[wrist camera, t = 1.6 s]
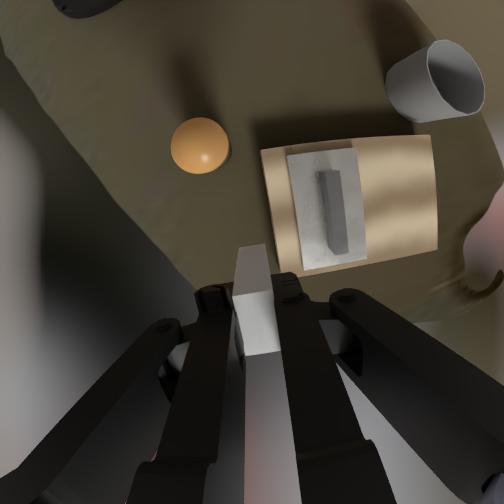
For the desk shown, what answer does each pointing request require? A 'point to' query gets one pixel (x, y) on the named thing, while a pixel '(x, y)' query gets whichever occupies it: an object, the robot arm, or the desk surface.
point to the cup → (436, 83)
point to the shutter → (328, 207)
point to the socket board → (364, 198)
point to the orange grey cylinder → (200, 146)
